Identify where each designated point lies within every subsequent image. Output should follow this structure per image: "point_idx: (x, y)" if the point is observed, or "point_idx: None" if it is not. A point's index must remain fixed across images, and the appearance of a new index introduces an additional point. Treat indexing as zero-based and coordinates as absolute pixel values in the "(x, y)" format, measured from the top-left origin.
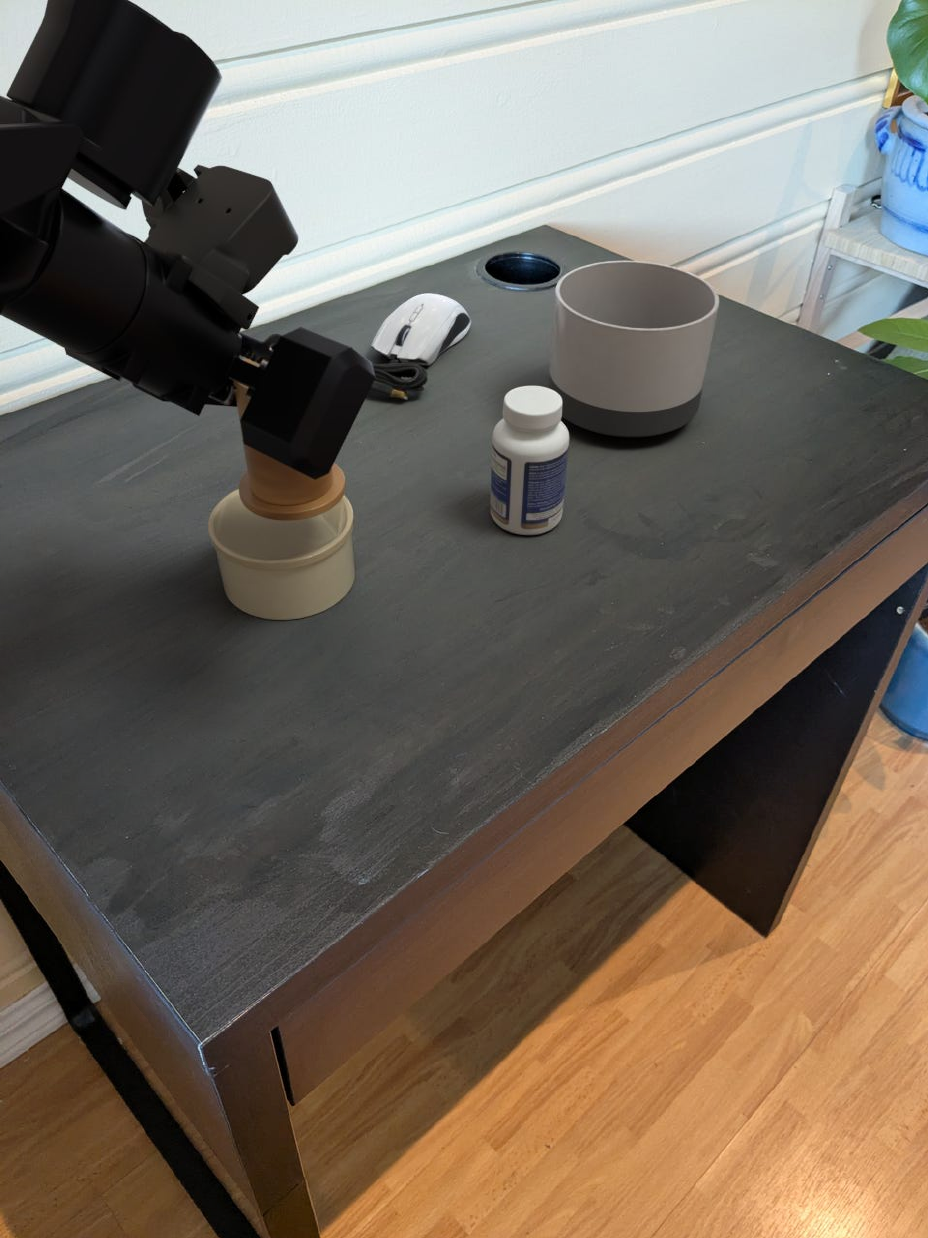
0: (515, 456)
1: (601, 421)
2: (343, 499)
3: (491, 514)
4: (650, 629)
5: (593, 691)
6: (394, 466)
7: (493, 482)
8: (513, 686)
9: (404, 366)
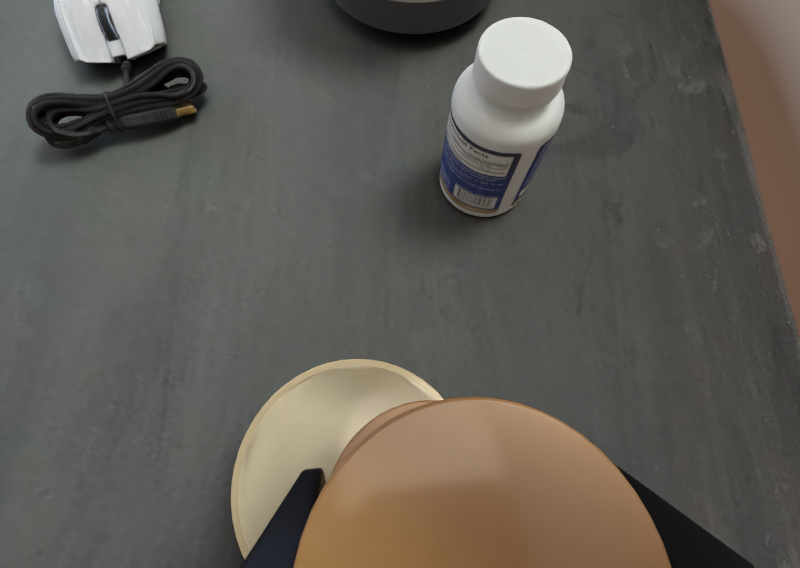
0: (530, 147)
1: (446, 15)
2: (388, 370)
3: (460, 208)
4: (714, 234)
5: (760, 348)
6: (288, 215)
7: (473, 182)
8: (706, 406)
9: (161, 69)
